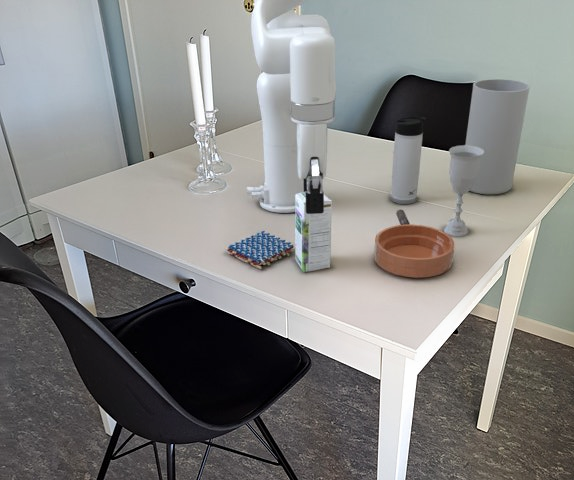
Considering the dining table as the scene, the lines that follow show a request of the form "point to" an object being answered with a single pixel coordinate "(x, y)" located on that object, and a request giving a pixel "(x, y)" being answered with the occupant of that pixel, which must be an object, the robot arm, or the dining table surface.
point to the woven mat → (260, 249)
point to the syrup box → (312, 235)
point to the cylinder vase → (496, 131)
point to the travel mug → (406, 159)
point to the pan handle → (402, 217)
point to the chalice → (462, 181)
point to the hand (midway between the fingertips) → (313, 202)
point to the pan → (414, 250)
